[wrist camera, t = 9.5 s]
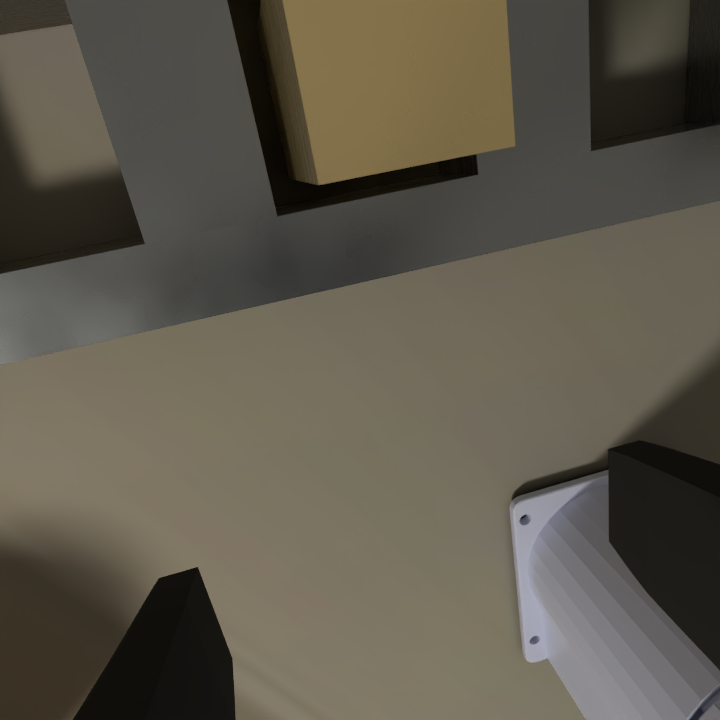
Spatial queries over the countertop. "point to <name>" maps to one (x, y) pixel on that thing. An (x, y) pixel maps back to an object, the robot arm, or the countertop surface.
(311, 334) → the countertop surface
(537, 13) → the rail
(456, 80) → the brass peg
